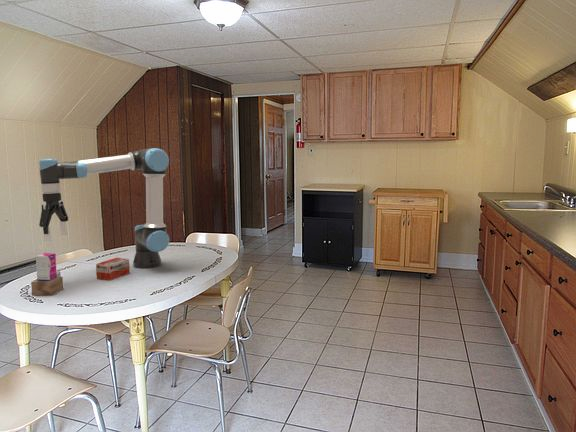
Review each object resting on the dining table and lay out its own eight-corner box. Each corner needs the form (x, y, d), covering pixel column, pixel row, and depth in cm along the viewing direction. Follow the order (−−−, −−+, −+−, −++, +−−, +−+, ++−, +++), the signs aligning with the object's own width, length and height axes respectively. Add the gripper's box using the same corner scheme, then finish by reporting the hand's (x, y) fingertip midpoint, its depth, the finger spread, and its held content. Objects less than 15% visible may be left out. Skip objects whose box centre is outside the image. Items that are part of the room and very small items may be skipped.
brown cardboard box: (63, 289, 200) (62, 276, 199) (52, 295, 191) (51, 282, 190) (44, 289, 201) (43, 276, 200) (32, 295, 192) (31, 282, 191)
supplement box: (48, 281, 192) (46, 256, 190) (36, 280, 193) (34, 255, 191) (57, 277, 198) (55, 253, 196) (45, 277, 199) (43, 252, 197)
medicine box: (109, 281, 214) (108, 265, 213) (96, 279, 217) (95, 263, 215) (130, 273, 228) (129, 258, 227) (118, 271, 231) (117, 257, 229)
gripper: (58, 190, 212) (62, 232, 215) (26, 195, 187) (32, 243, 190) (73, 189, 212) (77, 232, 215) (44, 195, 187) (49, 243, 190)
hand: (56, 237), depth 203 cm, fingers open, 13 cm apart
